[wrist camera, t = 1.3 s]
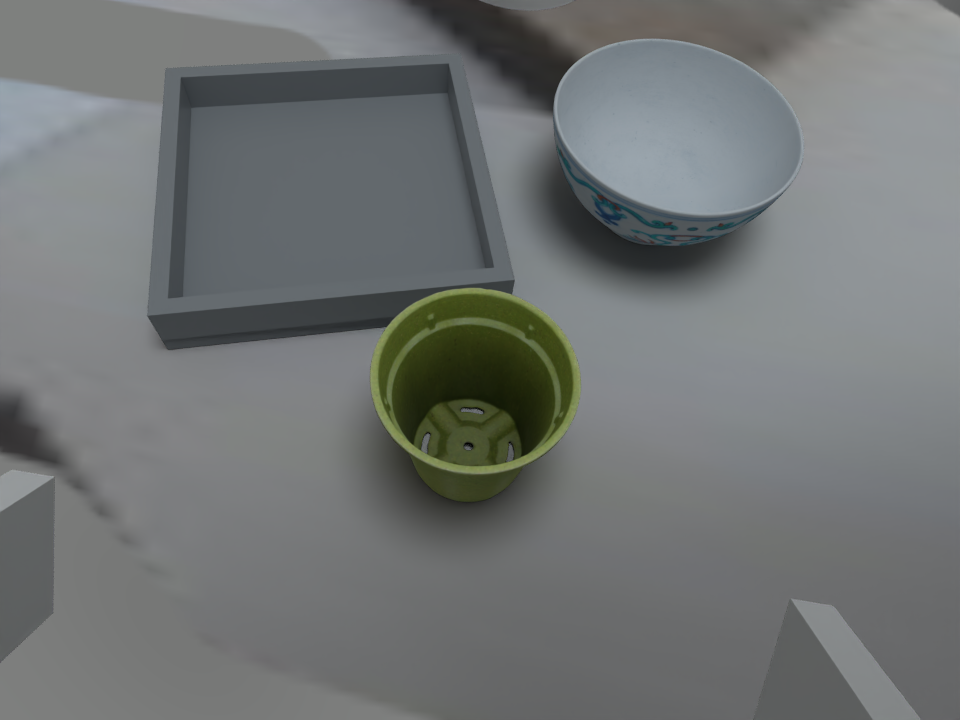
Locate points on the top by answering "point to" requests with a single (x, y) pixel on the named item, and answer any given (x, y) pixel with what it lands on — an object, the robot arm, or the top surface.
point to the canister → (528, 4)
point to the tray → (317, 197)
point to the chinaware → (673, 140)
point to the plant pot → (474, 388)
